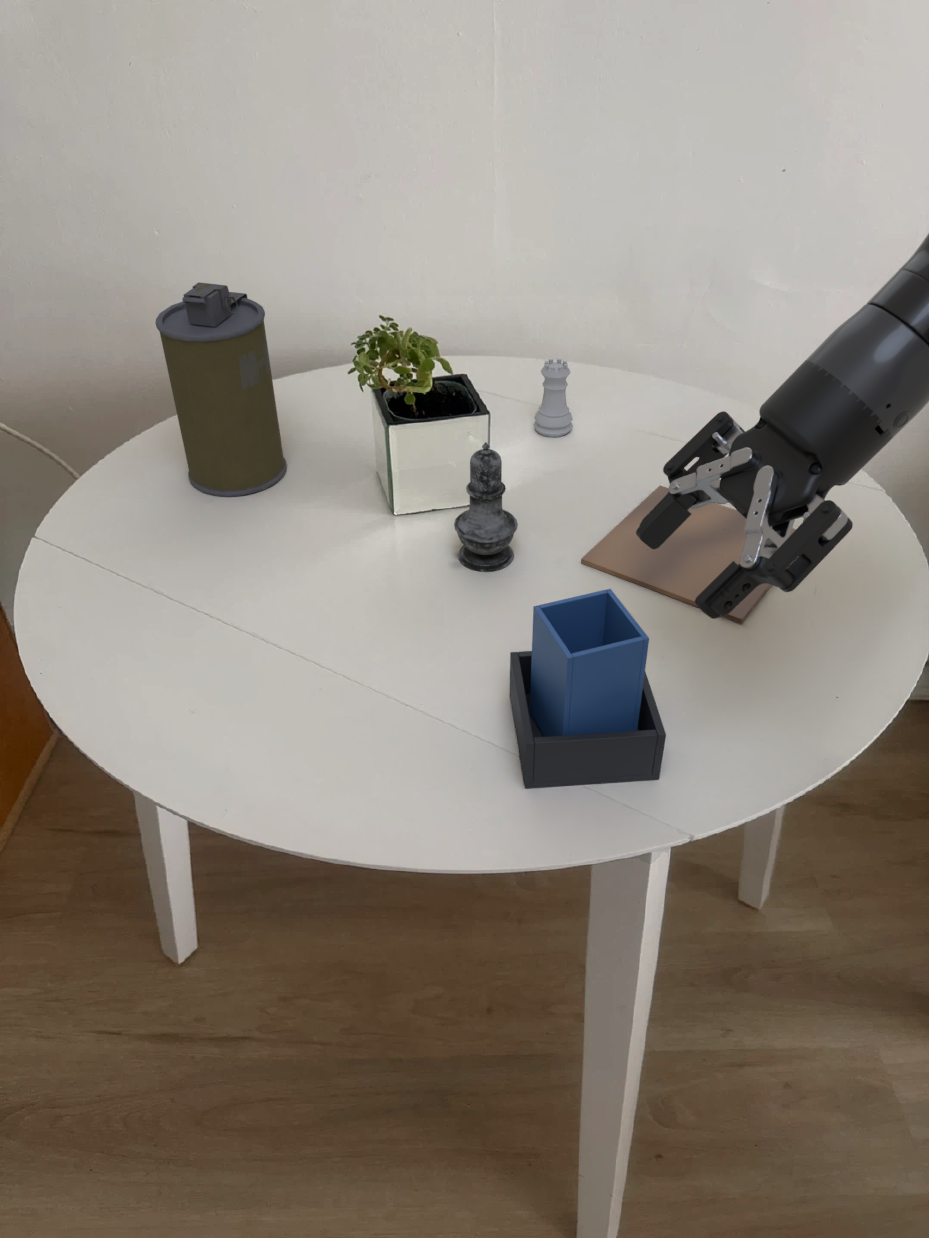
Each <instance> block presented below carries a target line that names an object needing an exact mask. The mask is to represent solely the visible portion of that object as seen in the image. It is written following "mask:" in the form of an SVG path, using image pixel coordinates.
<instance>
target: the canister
mask: <svg viewBox="0 0 929 1238" xmlns="http://www.w3.org/2000/svg"><path fill="white" fill-rule="evenodd" d="M265 317H266V312H265V309H264V306H262V305H261V304H260V303H258V302H257V301H255V300H253V299H250V298H248V294H247V293H244V292H235V291H229V287H228V285H225V284H217V283H207V282H197V283H196V284H194V285H193V286H192V288H190V290H188V291H186V292H185V293H183V297H182V301H180V302H177V303H173V304H171V305H170V306H168V307H167V308H165V309H164V310H162V311H161V312H159V314H158V315H157V316H156V318H155V323H154V324H155V327H156V329H157V330H158V332H159V335H160V340H161V345H162V349H163V354H164V360H165V364H166V368H167V373H168V377H169V383H170V387H171V393H172V398H173V402H174V406H175V411H176V417H177V421H178V425H179V429H180V435H181V439H182V443H183V448H184V453H185V459H186V462H187V463H186V464H187V468H188V472H187V474H188V475H187V476H188V480H189V483H190V485H192V486H193V487H194V488H195V489H196V490H198V491H200V492H201V493H204V494H207V495H211V496H213V497H214V496H217V497H240V496H246V495H250V494H254V493H259V492H262V491H264V490H266V489H268V488H270V487H272V486H273V485H275V484H276V483H278V481H280V480H281V479H282V478H283V477H284V476H285V474H286V472H287V467H288V466H287V465H288V464H287V460H286V458H285V457H284V451H283V444H282V437H281V431H280V424H279V423H280V422H279V416H278V410H277V403H276V395H275V389H274V381H273V376H272V375H273V374H272V368H271V362H270V361H271V360H270V353H269V346H268V339H267V333H266V332H267V331H266V327H265Z"/></svg>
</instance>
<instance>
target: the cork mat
mask: <svg viewBox="0 0 929 1238" xmlns="http://www.w3.org/2000/svg"><path fill="white" fill-rule="evenodd" d="M668 492H669V487H667V486H663V485H659V486H658V487H656V488H655V489H654V490H653V491H652V492H651V493H650V494H649V495H648V496H647V497H646V498H644V499H643V500H642V501H641V502H640V503H639V504H638V505H637V506H636V507H635V508H634V509H632V510H631V512H629V513H628V514H627V515H626V516H625V517H624V518H623V519H622V520H621V521H620V522H618V524H617V525H616V526H614V527H613V529H611V530H610V531H609V532H608V533H607V534H606V535H605V536H604V537H603V538H602V539H600V541H598V542H597V543H596V544H595V545H593V547H592V548H591V549H589V551H588V552H587V553H585V555H584V556H582V557H581V558H580V563H581V564H583V565H585V566H587V567H590V568H592V569H595V570H597V571H600V572H604V573H606V574H609V575H612V576H614V577H617V578H619V579H622V580H625V581H627V582H629V583H633V584H635V585H637V586H640V587H643V588H645V589H648V590H651V591H654V592H656V593H659V594H661V595H664V596H667V597H670V598H672V599H674V600H677V601H680V602H683V603H685V604H688V605H691V606H694V607H696V608H698V609H700V608H699V607H698V606H697V605H696V604H695V599H696V597H697V596H698V595H699V594H700V593H701V592H702V591H703V590H704V589H705V588H706V587H707V586H708V585H709V584H710V583H711V582H712V581H713V580H714V579H716V578H717V577H718V576H719V575H720V574H721V573H722V572H723V571H724V570H725V569H726V568H727V567H728V566H729V565H730V564H731V563H732V562H733V561H734V562H735V563H737V564H738V565H739V564H740V562H739V561H740V557H741V553H742V550H743V546H744V543H745V539H746V533H745V529H744V527H745V522H746V518H745V517H744V516H743V515H742V514H740V513H739V512H738V511H737V510H736V509H735V508H731V507H728V506H725V505H723V504H717V503H712V504H709V505H705V506H702V507H699V508H696V509H692V510H691V509H688V511H689V512H690V513H691V515H690V516H689V517H688V518H687V519H686V520H685V521H684V522H683V523H682V525H681V526H680V527H679V528H678V529H677V530H676V531H675V532H674V533H673V534H672V535H671V536H670V537H669V538H668V539H667V540H666V541H665V542H664V543H663V544H662V545H661V546H660V547H659V548H657V549H651V548H650V547H649V546H647V545H646V544H645V543H644V542H642V541H641V540H640V539H639V537H638V536H637V535H636V531H637V529H638V528H639V527H640V526H639V525H640V524H641V522H642V520H643V519H644V518H645V517H646V515H647V514H649V512H650V511H651V510H653V508H654V507H655V506H656V505H657V504H658V503H659V502H660V501H661V500H662V499H663V498H664V497H665V496H666V495H667V493H668ZM771 528H772V527H771ZM796 529H797V528H794V527H793V528H792V532H791V534H792V533H793V532H794V531H795V530H796ZM772 586H773V585H770V584H767V583H764V584H761V585H759V586H757V587H756V588H755V589H754V590H753V591H752V592H751V593H750V594H749V595H748V596H747V597H746V598H745V599H744V600H743V601H742V602H740V603H739V604H738V605H737V606H736V607H735V608H734V609H733V610H732V611H731V612H730V613H729V614H727V615H725V616H723V617H722V618H725V619H727V620H730V621H732V622H736V623H738V624H740V625H742V624H743V623H744V621H745V620H746V619H747V618H748V616H749V615H750V614H751V613H752V612H753V610H754V609H755V608H756V606H758V604H759V602H761V600H762V598H764V597H765V595H766V594H767V592H768V591H769V590H770V588H771V587H772Z"/></svg>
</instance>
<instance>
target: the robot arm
mask: <svg viewBox="0 0 929 1238" xmlns="http://www.w3.org/2000/svg"><path fill="white" fill-rule="evenodd" d="M928 404H929V232H928V233H927V234H926V236H925V238H924V239H923V240H922V241H921V243H920V244H919V246H918V247H917V248H916V250H915V251H914V253H913V254H911V256H910V257H909V258H908V260H907V261H906V262H905V263H904V264H903V265H902V266H901V267H900V268H899V269H898V270H897V271H896V272H895V273H894V274H893V275H892V276H891V277H890V278H889V279H888V281H886V282H885V283H884V284H883V285H882V286H881V288H880V289H879V290H878V291H877V292H876V293H874V295H873V296H872V297H870V299H869V300H868V301H867V302H866V303H865V304H864V305H862V307H860V308H859V309H858V311H856V312H855V313H853V315H851V316H850V317H849V318H847V319H846V320H845V321H844V322H842V323H841V324H840V325H839V326H838V327H836V328H835V329H834V330H833V332H832V333H830V334H829V335H828V337H827V338H825V339H824V341H823V342H822V343H820V344H819V346H818V347H817V348H816V349H815V350H814V351H813V352H812V353H811V354H810V355H809V356H808V357H807V358H806V359H805V360H804V361H803V362H802V363H801V364H800V365H799V366H798V367H797V368H796V369H795V371H794V372H792V373H791V374H790V376H788V378H786V380H785V381H784V382H783V383H782V384H781V385H780V386H779V387H778V388H777V389H776V390H775V391H774V392H773V393H772V394H771V395H770V396H769V397H768V398H767V399H766V401H764V402H763V403H762V404H761V406H760V407H759V411H758V412H759V420H758V421H757V422H756V424H755V425H754V426H752V427H751V428H749V429H747V430H744V429H743V428H742V427H741V425H740V424H739V423H738V422H737V421H735V419H734V418H733V417H732V416H731V415H730V414H729V413H728V412H727V411H724V410H723V411H720V412H718V413H716V414H715V415H714V416H713V417H712V418H711V419H710V420H709V421H708V422H707V423H706V424H705V425H704V426H703V427H702V428H701V429H700V430H699V431H698V432H697V433H696V434H695V435H693V437H691V439H689V441H687V443H685V444H684V445H683V446H682V447H681V448H680V449H679V450H678V451H677V452H676V453H675V454H674V455H673V456H672V457H671V458H670V459H669V460H668V461H667V462H666V463H665V464H664V465H663V468H662V472H663V474H664V475H665V476H667V479H668V483H669V485H668V488H669V492H668V493H667V495H666V496H665V497H664V498H663V499H662V500H661V501H660V502H659V503H658V504H657V505H656V506H655V507H654V508H653V510H651V511H650V512H649V514H647V515H646V517H645V518H644V519H643V520H642V522H641V524H640V525H639V526H640V527H639V528H638V529H637V531H636V535H637V536H638V537H639V539H640V540H641V541H642V542H644V543H645V544H646V545H647V546H649V547H650V548H651V549H657V548H659V547H660V546H661V545H662V544H663V543H664V542H665V541H666V540H667V539H668V538H669V537H670V536H671V535H672V534H673V533H674V532H675V531H676V530H677V529H678V528H679V527H680V526H681V525H682V523H683V522H684V521H685V520H686V519H687V518H688V517H689V516H690V515H691V513H690V512H689V511H688V509H691V510H692V509H696V508H699V507H702V506H705V505H709V504H712V503H716V504H719V505H725V504H728V503H729V504H730V505H731V506H732V507H733V508H734V509H735V510H737V511H738V512H739V513H740V514H742V515H743V516H744V517H745V518H746V522H745V527H744V529H745V533H746V539H745V543H744V546H743V550H742V553H741V557H740V561H739V562H740V564H739V565H738V564H737V563H735V562H734V561H733V562H732V563H731V564H730V565H729V566H728V567H727V568H726V569H725V570H724V571H723V572H722V573H721V574H720V575H719V576H718V577H717V578H716V579H714V580H713V581H712V582H711V583H710V584H709V585H708V586H707V587H706V588H705V589H704V590H703V591H702V592H701V593H700V594H699V595H698V596H697V597H696V599H695V604H696V605H697V606H698V607H699V608H698V607H697V608H698V609H699V610H700V611H701V612H702V613H703V614H705V615H706V616H708V617H709V618H710V619H713V620H716V619H718V618H720V617H722V618H724V617H723V616H725V615H727V614H729V613H730V612H731V611H732V610H733V609H734V608H735V607H736V606H737V605H738V604H739V603H740V602H742V601H743V600H744V599H745V598H746V597H747V596H748V595H749V594H750V593H751V592H752V591H753V590H754V589H755V588H756V587H757V586H759V585H761V584H764V583H767V584H770V585H772V586H774V587H776V588H778V589H780V590H781V591H782V592H784V593H791V592H793V591H794V590H796V588H798V586H799V585H800V584H801V583H802V582H803V581H804V580H805V579H806V578H807V577H808V576H809V575H810V574H811V573H812V572H813V570H815V569H816V567H817V566H818V565H820V563H821V562H822V561H823V560H824V559H826V557H827V556H828V555H829V554H830V553H831V552H832V551H833V550H834V549H835V547H836V546H837V545H838V544H840V542H842V540H843V539H844V538H845V537H846V536H848V534H849V533H850V532H851V530H852V529H853V526H854V524H853V521H852V520H851V518H850V517H849V516H848V515H847V513H846V512H845V511H844V510H843V509H842V508H841V507H840V506H838V505H837V504H836V502H834V501H833V500H831V499H828V500H827V499H826V497H827V495H828V494H829V492H830V491H831V489H833V488H834V487H835V486H837V487H839V486H844V485H846V484H847V483H849V481H850V480H851V479H853V478H854V477H855V476H856V474H858V473H859V472H860V471H861V470H862V469H863V468H864V467H865V466H866V465H867V464H868V463H869V462H870V461H871V460H872V459H873V458H874V457H875V456H876V455H877V454H878V453H879V452H880V451H882V449H883V448H885V446H887V445H888V444H889V443H890V442H891V441H892V439H894V438H895V437H896V436H897V435H898V434H899V433H900V432H901V431H902V430H903V429H904V428H906V426H907V425H908V424H909V423H910V422H911V421H912V420H913V419H914V418H915V417H916V416H917V415H919V413H920V412H921V411H922V410H923V409H924V408H925V407H926V406H927V405H928ZM696 458H698V459H697V460H696V461H695V462H694V463H693V464H692V465H691V466H690V467H689V468H688V469H686V467H687V466H688V465H689V464H690V463H691V462H693V460H694V459H696ZM800 518H803V520H802V522H801V523H800V525H799V526H798V527H797V528H795V529H796V530H795V531H794V532H793V533H792V534H791V532H792V528H793V529H794V524H795V520H797V519H800ZM771 527H772V528H771Z"/></svg>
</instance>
